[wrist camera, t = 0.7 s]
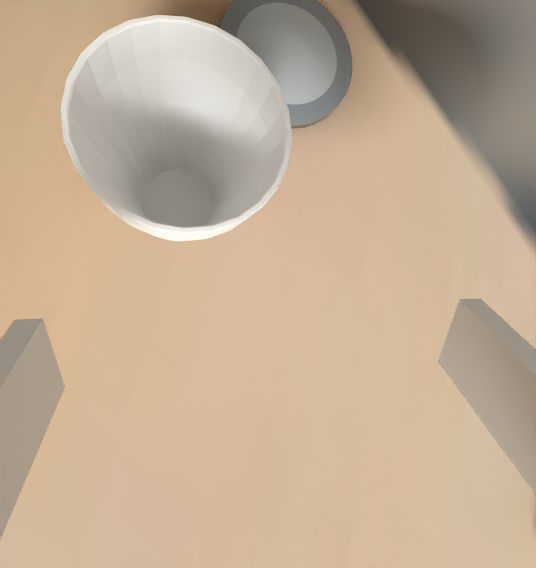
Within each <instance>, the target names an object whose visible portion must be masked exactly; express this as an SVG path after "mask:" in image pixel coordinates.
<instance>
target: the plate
mask: <svg viewBox="0 0 536 568" xmlns="http://www.w3.org/2000/svg"><path fill="white" fill-rule="evenodd" d="M219 28H220V29H222V30H224V31H225V32H227V33H229V34H231V35H232V36H234V37H236V38H237V39H239V40H241V41H242V42H243V43H244V44H245V45H246V46H247V47H248V48H250V49H251V50H252V51H253V52H254V53H255V54H256V55H257V56H258V57H259V58H260V59H262V61H263V62H264V64H265V65H266V66H267V68H268V69H269V71H270V72H271V74H272V75H273V76H274V78H275V79H276V81H277V82H278V84H279V86H280V89H281V91H282V94H283V96H284V99H285V101H286V104H287V106H288V109H289V115H290V122H291V128H301V127H307V126H310V125H313V124H315V123H317V122H320V121H321V120H323V119H324V118H326V117H327V116H328V115H329V114H330V113H331V112H332V111H333V110H334V109H335V108H336V106H337V105H338V104H339V103H340V101H341V100H342V99H343V97H344V95H345V94H346V92H347V90H348V87H349V85H350V80H351V75H352V57H351V51H350V47H349V44H348V41H347V39H346V36H345V34H344V32H343V30H342V28H341V27H340V25H339V24H338V22H337V21H336V19H335V18H334V17H333V16H332V14H331V13H330V12H329V11H328V10H327V9H326V8H325V7H324V6H322V5H321V4H320V3H319V2H317V1H316V0H235V1H234V2H233V3H232V4H231V5H230V6H229V8H228V9H227V11H226V12H225V14H224V16H223V18H222V20H221V24H220V27H219Z"/></svg>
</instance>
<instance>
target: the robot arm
mask: <svg viewBox="0 0 536 568" xmlns="http://www.w3.org/2000/svg"><path fill="white" fill-rule="evenodd" d="M438 362H439V363H440V365H441V366H442V368H443V369H444V370H445V372H446V373H447V374H448V376H449V377H450V378H451V380H452V381H453V383H454V384H455V385H456V387H457V388H458V389H459V391H460V392H461V393H462V395H463V396H464V398H465V399H466V400H467V402H468V403H469V404H470V406H471V407H472V408H473V410H474V411H475V413H476V414H477V415H478V417H479V418H480V419H481V421H482V422H483V423H484V425H485V426H486V428H487V429H488V430H489V432H490V433H491V434H492V436H493V437H494V438H495V440H496V441H497V443H498V444H499V445H500V447H501V448H502V449H503V451H504V452H505V453H506V455H507V456H508V458H509V459H510V460H511V462H512V463H513V464H514V466H515V467H516V468H517V470H518V471H519V473H520V474H521V475H522V477H523V478H524V479H525V481H526V482H527V483H528V485H529V486H530V488H531V489H532V490H533V492H534V493H535V494H536V349H535V348H533V347H532V346H531V345H530V344H529V343H528V342H527V341H526V340H525V339H524V338H523V337H522V336H520V335H519V334H518V333H517V332H516V331H515V330H514V329H513V328H512V327H511V326H510V325H509V324H507V323H506V322H505V321H504V320H503V319H502V318H501V317H500V316H499V315H498V314H497V313H495V312H494V311H493V310H492V309H491V308H490V307H489V306H488V305H487V304H486V303H485V302H484V301H482V300H481V299H463V300H459V303H458V306H457V308H456V311H455V314H454V317H453V320H452V323H451V326H450V328H449V331H448V334H447V337H446V340H445V343H444V346H443V349H442V351H441V354H440V357H439V360H438ZM64 387H65V386H64V383H63V380H62V376H61V373H60V370H59V367H58V364H57V361H56V358H55V355H54V352H53V349H52V346H51V343H50V339H49V336H48V333H47V330H46V327H45V324H44V321H43V319H22V320H14V321H13V323H12V324H11V325H10V327H9V328H8V330H7V331H6V332H5V334H4V335H3V337H2V338H1V340H0V539H1V537H2V535H3V532H4V530H5V527H6V525H7V523H8V520H9V518H10V516H11V513H12V511H13V508H14V506H15V504H16V501H17V499H18V497H19V494H20V492H21V489H22V487H23V485H24V482H25V480H26V478H27V475H28V473H29V470H30V468H31V466H32V463H33V461H34V459H35V456H36V454H37V451H38V449H39V447H40V444H41V442H42V440H43V437H44V435H45V432H46V430H47V428H48V425H49V423H50V421H51V418H52V416H53V413H54V411H55V409H56V406H57V404H58V402H59V399H60V397H61V394H62V392H63V390H64Z"/></svg>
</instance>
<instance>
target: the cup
mask: <svg viewBox="0 0 536 568" xmlns="http://www.w3.org/2000/svg"><path fill="white" fill-rule="evenodd" d="M60 110H61V119H62V129H63V138H64V142H65V144H66V146H67V149H68V151H69V154H70V156H71V159H72V161H73V163H74V166H75V168H76V170H77V171H78V173H79V174H80V175H81V177H82V178H83V179H84V180H85V182H86V183H87V184H88V186H89V187H90V188H91V190H92V191H93V192H94V193H95V195H96V196H97V197H98V198H99V199H100V200H101V201H102V202H103V203H104V205H105V206H106V207H107V208H108V209H110V210H111V211H112V212H113V213H115V214H116V215H117V216H119V217H120V218H121V219H122V220H124V221H125V222H126V223H128V224H129V225H131V226H133V227H135V228H137V229H140V230H142V231H144V232H146V233H149V234H151V235H153V236H156V237H159V238H164V239H167V240H173V241H187V240H199V239H207V238H210V237H213V236H216V235H219V234H221V233H224V232H227V231H230V230H231V229H233V228H234V227H236V226H237V225H239V224H240V223H241V222H243V221H244V220H246V219H247V218H248V217H250V216H251V215H252V214H254V213H255V212H256V211H258V210H259V209H260V208H262V207H263V206H264V205H265V203H266V202H267V201H268V200H269V198H270V197H271V196H272V195H273V193H274V192H275V191H276V190H277V188H278V187H279V185H280V183H281V181H282V178H283V176H284V173H285V171H286V169H287V166H288V164H289V160H290V152H291V143H292V129H291V122H290V115H289V109H288V106H287V104H286V101H285V99H284V96H283V94H282V91H281V89H280V86H279V84H278V82H277V81H276V79H275V78H274V76H273V75H272V74H271V72H270V71H269V69H268V68H267V66H266V65H265V64H264V62H263V61H262V59H260V58H259V57H258V56H257V55H256V54H255V53H254V52H253V51H252V50H251V49H250V48H248V47H247V46H246V45H245V44H244V43H243V42H242V41H241V40H239V39H237V38H236V37H234V36H232V35H231V34H229V33H227V32H225V31H224V30H222V29H220V28H218V27H217V26H215V25H212V24H208V23H205V22H202V21H199V20H195V19H192V18H189V17H182V16H167V15H154V16H148V17H143V18H138V19H132V20H128V21H126V22H124V23H122V24H120V25H118V26H116V27H114V28H112V29H110V30H108V31H106V32H104V33H102V34H101V35H99V36H98V37H97V38H96V39H95V40H94V41H93V42H92V43H91V44H90V45H89V46H88V47H87V48H86V49H85V50H84V51H82V52H81V53H80V55H79V57H78V59H77V60H76V62H75V64H74V66H73V68H72V69H71V71H70V73H69V75H68V77H67V78H66V82H65V87H64V92H63V98H62V103H61V108H60Z"/></svg>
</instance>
